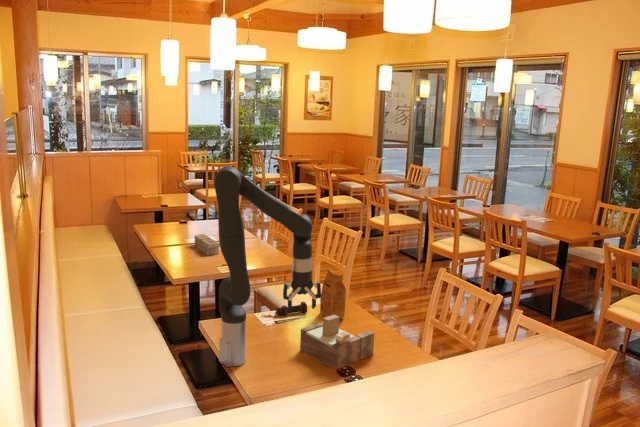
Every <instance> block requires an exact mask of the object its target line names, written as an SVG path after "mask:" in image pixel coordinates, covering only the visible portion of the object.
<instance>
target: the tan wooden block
mask: <svg viewBox="0 0 640 427" xmlns="http://www.w3.org/2000/svg"><path fill="white" fill-rule="evenodd" d="M350 334H351V333H349V332H347V331H345V332H342V333H339V334H337V335H336V342H337V343H339V344H344V343H346V342H349V341H350Z"/></svg>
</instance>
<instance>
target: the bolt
mask: <svg viewBox="0 0 640 427" xmlns="http://www.w3.org/2000/svg"><path fill="white" fill-rule="evenodd" d="M274 310H275V315H277V316H284V317H286V316H285V315H287V316H289V314H294V313H299V312H300V313H302V314H307V313H308V304H307V302H306V301H300V304H297V305H292V310H290V308H288V305H285V304H284V305H282V306H281V307H280V308H279V307H278V308H276V309H274Z"/></svg>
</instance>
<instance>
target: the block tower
mask: <svg viewBox="0 0 640 427" xmlns="http://www.w3.org/2000/svg"><path fill="white" fill-rule="evenodd" d="M194 247H196V248H197V249H198V250H199V251H201V252H202V251H203V253H204V254H205V253H206V254H205V255H206V256H213V255H212V254H215V255H219V254H220V252H219V251H220V250H219V249H220V243H219V242H217V241H216V240H215V239H213V238H211V237H210V236H208V235H207V234H206V233H200V234H195V235H194Z"/></svg>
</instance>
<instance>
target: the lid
mask: <svg viewBox="0 0 640 427" xmlns="http://www.w3.org/2000/svg"><path fill="white" fill-rule="evenodd" d="M322 322H323V326H322V327H319V328H316V329H313V330H310V331H307V332H306V334H307V335H309V336H311V337H313V338H315V339H317V340H319V341H321V342H323V343H325V344H327V345H329V346H331V347H333V345H334V344H336V343H337V342H336V335H337V334H339V333H342V332H346V331H345V330H342V329H341V328H340V318H339V316H336V315H331V316H328V317H325V318H324V317H323V318H322ZM355 336H356V335H354V334H351V333H350V338H353V337H355Z"/></svg>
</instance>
